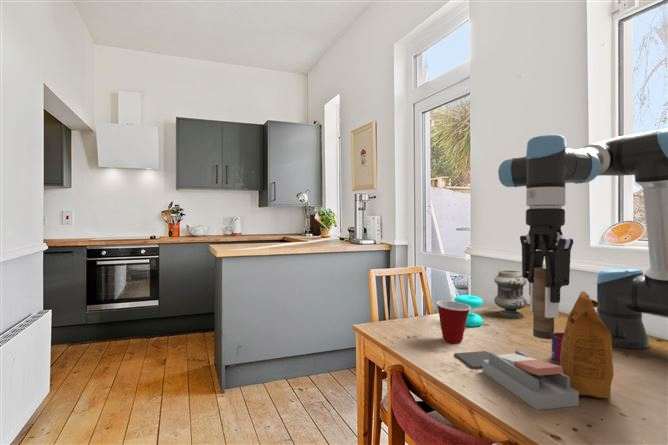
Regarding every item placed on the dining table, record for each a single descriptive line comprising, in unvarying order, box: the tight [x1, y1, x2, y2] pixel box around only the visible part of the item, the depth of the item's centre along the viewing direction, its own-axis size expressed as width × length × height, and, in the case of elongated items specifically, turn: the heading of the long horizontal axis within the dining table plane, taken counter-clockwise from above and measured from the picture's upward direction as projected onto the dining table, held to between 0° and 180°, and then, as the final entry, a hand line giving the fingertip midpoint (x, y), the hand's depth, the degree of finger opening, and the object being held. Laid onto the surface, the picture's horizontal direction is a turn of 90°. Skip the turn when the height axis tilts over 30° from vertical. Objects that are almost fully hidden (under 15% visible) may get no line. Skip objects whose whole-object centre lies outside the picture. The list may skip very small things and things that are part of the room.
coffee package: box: [559, 291, 614, 399], centre depth 89 cm, size 10×12×22 cm
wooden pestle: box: [532, 266, 555, 340], centre depth 84 cm, size 4×4×15 cm
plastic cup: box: [436, 300, 472, 344], centre depth 124 cm, size 11×11×12 cm
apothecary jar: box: [493, 269, 528, 319], centre depth 155 cm, size 12×12×18 cm
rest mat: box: [453, 350, 489, 370], centre depth 107 cm, size 10×10×1 cm
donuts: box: [453, 294, 484, 328], centre depth 143 cm, size 10×10×10 cm
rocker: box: [497, 353, 563, 376], centre depth 90 cm, size 16×6×1 cm, turn 11°
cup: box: [551, 331, 564, 364], centre depth 106 cm, size 7×10×7 cm
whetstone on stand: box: [482, 349, 580, 411], centre depth 90 cm, size 10×20×6 cm, turn 11°
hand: (543, 314), depth 84 cm, fingers closed on wooden pestle, 4 cm apart
